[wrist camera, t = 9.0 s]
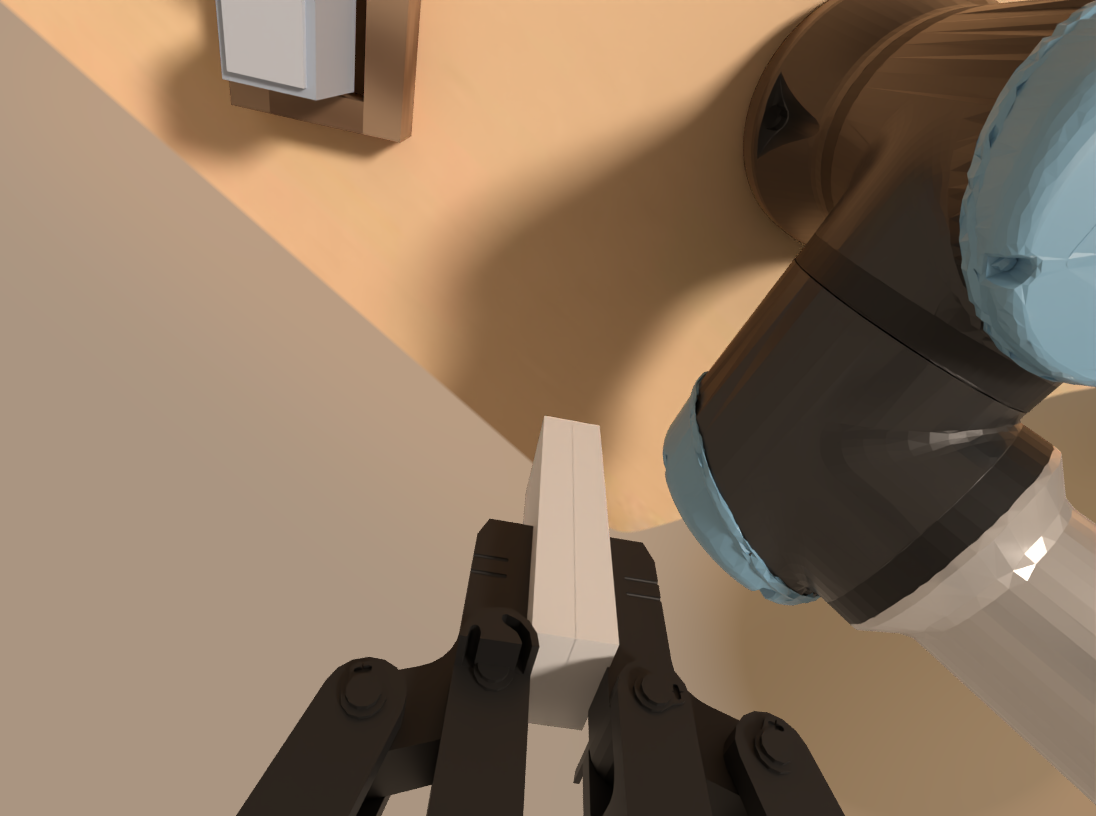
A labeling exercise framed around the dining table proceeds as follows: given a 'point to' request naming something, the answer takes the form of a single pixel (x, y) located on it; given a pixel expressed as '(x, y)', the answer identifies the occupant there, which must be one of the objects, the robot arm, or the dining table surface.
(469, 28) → the dining table surface
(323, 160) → the dining table surface
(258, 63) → the slate button
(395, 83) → the wooden tray
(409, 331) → the dining table surface
